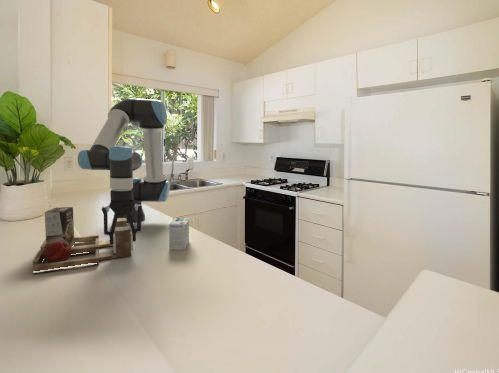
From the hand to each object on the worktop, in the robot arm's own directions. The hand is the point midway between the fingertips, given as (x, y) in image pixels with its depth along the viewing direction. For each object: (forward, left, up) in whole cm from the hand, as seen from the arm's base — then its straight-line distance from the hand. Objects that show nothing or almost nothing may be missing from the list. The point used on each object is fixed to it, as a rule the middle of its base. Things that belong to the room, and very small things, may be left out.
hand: (123, 250), depth 104 cm
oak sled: (+12, -14, -1) cm, 19 cm away
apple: (+20, 0, -2) cm, 20 cm away
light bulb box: (-22, -3, -2) cm, 22 cm away
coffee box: (+21, -14, -2) cm, 25 cm away
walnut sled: (+12, 0, -1) cm, 12 cm away
